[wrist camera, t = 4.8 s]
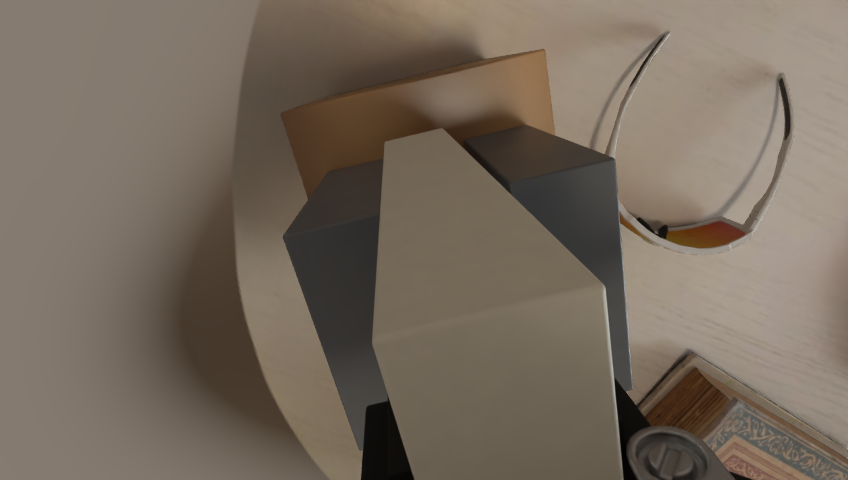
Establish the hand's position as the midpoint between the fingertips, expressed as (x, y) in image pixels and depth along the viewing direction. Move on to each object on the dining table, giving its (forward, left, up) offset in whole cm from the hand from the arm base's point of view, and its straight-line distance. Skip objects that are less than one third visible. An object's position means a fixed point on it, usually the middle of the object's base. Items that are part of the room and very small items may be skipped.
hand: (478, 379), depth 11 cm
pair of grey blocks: (0, 0, -12) cm, 12 cm away
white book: (0, 0, -10) cm, 10 cm away
